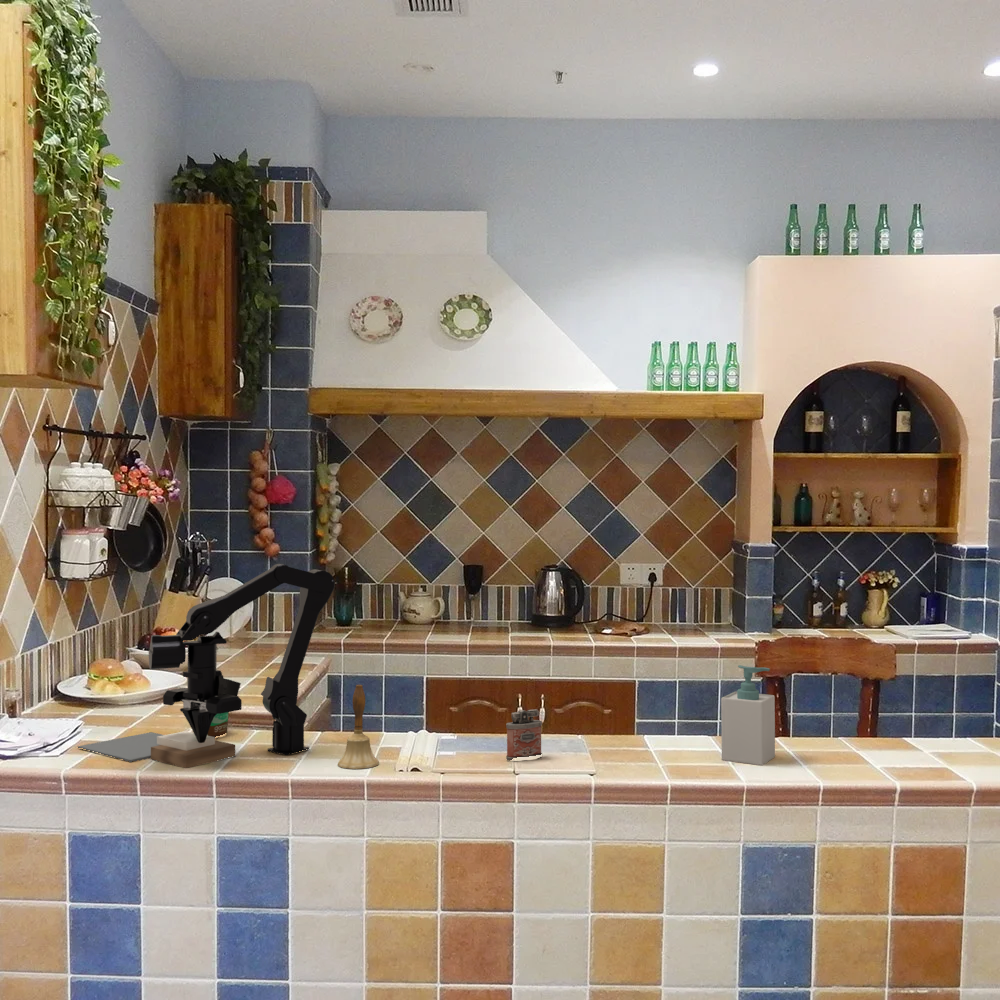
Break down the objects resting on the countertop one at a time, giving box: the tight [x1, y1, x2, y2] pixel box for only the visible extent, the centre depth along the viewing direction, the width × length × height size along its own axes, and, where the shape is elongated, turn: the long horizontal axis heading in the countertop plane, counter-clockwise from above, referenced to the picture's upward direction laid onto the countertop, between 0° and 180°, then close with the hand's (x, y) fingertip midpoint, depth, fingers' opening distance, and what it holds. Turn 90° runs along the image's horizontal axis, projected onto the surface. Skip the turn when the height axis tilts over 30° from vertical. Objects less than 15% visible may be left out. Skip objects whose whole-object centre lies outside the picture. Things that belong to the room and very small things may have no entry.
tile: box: [157, 730, 216, 751], centre depth 207 cm, size 10×7×2 cm
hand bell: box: [337, 684, 380, 770], centre depth 201 cm, size 8×8×16 cm
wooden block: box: [150, 739, 236, 769], centre depth 206 cm, size 12×12×2 cm
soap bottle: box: [720, 665, 776, 766], centre depth 205 cm, size 9×9×19 cm
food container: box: [198, 696, 230, 737], centre depth 227 cm, size 12×6×10 cm, turn 168°
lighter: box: [505, 709, 543, 760], centre depth 205 cm, size 8×3×10 cm, turn 117°
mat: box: [77, 731, 164, 763], centre depth 215 cm, size 20×18×1 cm
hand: (201, 742), depth 204 cm, fingers closed
